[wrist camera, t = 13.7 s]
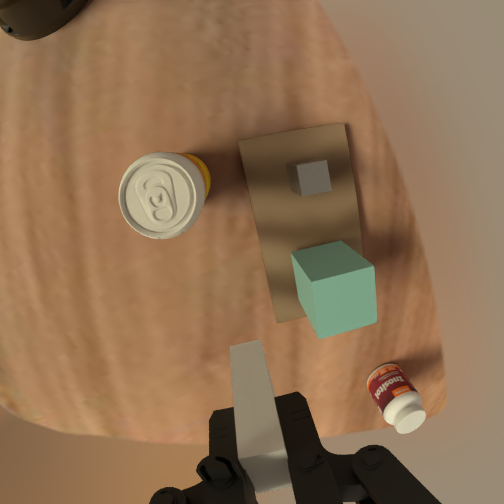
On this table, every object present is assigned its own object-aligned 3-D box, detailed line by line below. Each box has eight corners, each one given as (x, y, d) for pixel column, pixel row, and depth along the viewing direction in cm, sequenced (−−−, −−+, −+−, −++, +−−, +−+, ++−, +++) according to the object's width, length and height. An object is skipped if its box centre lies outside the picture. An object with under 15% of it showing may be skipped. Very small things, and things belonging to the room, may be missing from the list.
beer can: (202, 146, 33) (187, 139, 19) (217, 199, 35) (214, 228, 21) (150, 163, 33) (102, 169, 19) (166, 214, 35) (130, 254, 21)
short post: (286, 164, 34) (296, 165, 29) (312, 159, 34) (326, 160, 29) (291, 191, 35) (302, 196, 30) (317, 185, 35) (331, 190, 30)
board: (237, 141, 34) (238, 141, 32) (340, 123, 34) (343, 122, 33) (275, 318, 40) (277, 323, 39) (363, 295, 41) (366, 299, 39)
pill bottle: (390, 355, 44) (424, 399, 34) (404, 374, 46) (436, 416, 35) (358, 379, 45) (386, 427, 34) (374, 397, 47) (401, 442, 36)
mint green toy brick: (290, 252, 36) (311, 282, 27) (341, 240, 36) (374, 265, 27) (298, 299, 37) (319, 339, 29) (346, 287, 37) (376, 322, 29)
